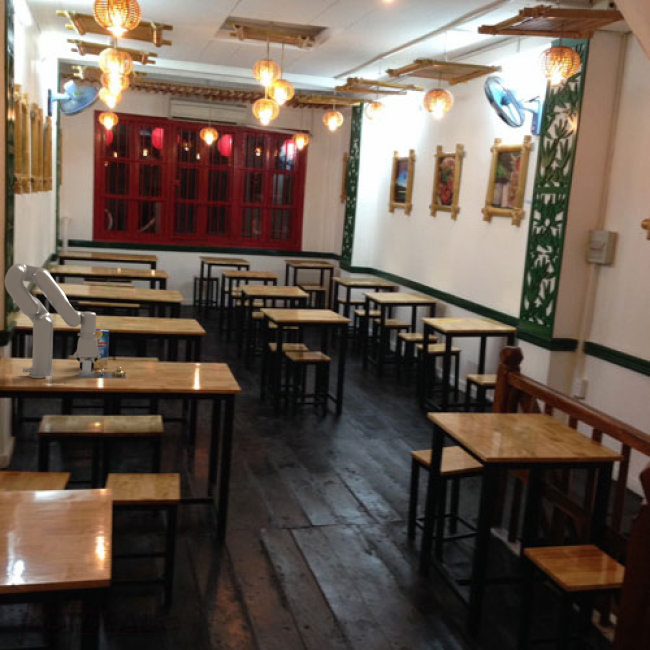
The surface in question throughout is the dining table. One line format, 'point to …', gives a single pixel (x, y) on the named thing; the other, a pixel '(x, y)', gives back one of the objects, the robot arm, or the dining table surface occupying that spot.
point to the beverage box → (102, 348)
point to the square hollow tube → (86, 368)
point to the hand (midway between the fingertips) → (86, 369)
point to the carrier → (107, 374)
